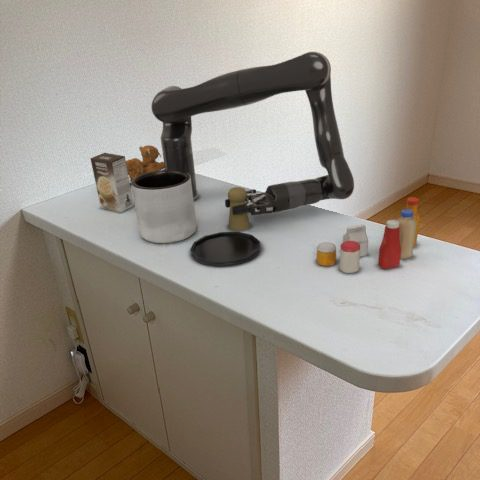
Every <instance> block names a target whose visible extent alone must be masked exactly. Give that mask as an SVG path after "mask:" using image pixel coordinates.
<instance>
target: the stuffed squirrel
mask: <svg viewBox="0 0 480 480" xmlns="http://www.w3.org/2000/svg"><path fill="white" fill-rule="evenodd" d="M138 149H139V151H140V155H141V156H142V160H140V159H139V158H137V157H133V158H131V159H127V160H126V166H127V172H128V177H129V182H130V183H131V182H132V180H133V179H134V178H136V177H137V176H140V175H142V174H145V173H148V172H153V171H160V170H163V169H165V166H164V161H161V162H159V161H157V159H158V158H159V157H160V158H162V154H161V153H160V152H159V149H158V148H157V147H155V146H154V145H150V144H147V145H144V146H139V147H138Z"/></svg>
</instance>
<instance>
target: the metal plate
mask: <svg viewBox="0 0 480 480" xmlns="http://www.w3.org/2000/svg"><path fill="white" fill-rule="evenodd" d="M261 250H262V247H261V241H260V240H259V239H258V238H257V237H255V236H254V235H253V234H250V233H246V232H242V231H220V232H215V233H211V234H206V235H204V236H202V237H200V238H199V239H197V240H195V241H194V242H193V243H192V245H191V247H190V256H191V258H192V260H194V261H195V262H197V264H201V265H203V266H208V267H215V268H226V267H234V266H235V267H236V266H239V265H243V264H246V263H248V262H250V261H252V260H254V259H256V258H257V257H258V256H259V255H260V253H261Z"/></svg>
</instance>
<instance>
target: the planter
mask: <svg viewBox="0 0 480 480" xmlns="http://www.w3.org/2000/svg"><path fill="white" fill-rule="evenodd" d="M130 183H131V186H130V187H131V193H132V198H133V204H134V208H135V215H136V222H137V227H138V231H139V234H140V237H141V238H142V239H144V240H146V241H148V242H150V243H155V244H172V243H173V244H174V243H177V242H180V241H181V242H182V241H185V240H186V239H188V238H189V237H191V236H192V235H193V234H194V233H195V232H196V231H197V229H198V223H197V216H196V207H195V200H193V192H192V184H191V176H190V175H189V174H188V173H186V172H183V171H179V170H163V169H162V170H159V171H153V172H148V173H145V174H142V175H140V176H137V177H136V178H134V179H133V180H132V182H131V181H130Z"/></svg>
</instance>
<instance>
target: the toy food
mask: <svg viewBox="0 0 480 480" xmlns="http://www.w3.org/2000/svg"><path fill="white" fill-rule="evenodd" d="M419 203H420V199H419V198H418V197H415V196H410V197H407V198H406V207H405V209H402V210H400V216H399V217H397V219H388V220H387V221H386V223H385V226H384V231H383V235H382V240H381V244H380V246H379V249H378V263H377V264H378V266H379V267H380V268H381V270H382V269H383V270H387V269H393V268H397V267H399V266H400V263H401V260H406V259H410V258H411V257H412V256H413V254H414V247H415V246H416V245H417V244H418V243H417V242H418V234H419V228H420V221H421V216H420V214H419V213H418V208H419V207H418V206H419ZM366 229H367V226H366V224H358V225H352V226H347V227H346V232H345V233H344V234H343V236H342V243H341V244H340V245H339V247H340V250H339V251H340V252H339V270H340V271H341V272H343V273H346V274H354V273H357V272H358V271H359V270H360V264H361V263H360V261H361V257H365V256H367V255H368V251H369V250H368V249H369V237H368V234H367V230H366ZM336 262H337V246H336V245H335V244H334V243H333V242H330V241H324V242H320V243H318V244H317V246H316V263H317V264H318V265H319V266H322V267H328V266H329V267H330V266H333V265H335V264H336Z"/></svg>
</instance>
